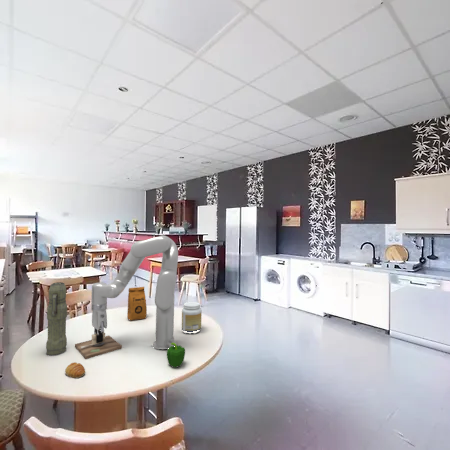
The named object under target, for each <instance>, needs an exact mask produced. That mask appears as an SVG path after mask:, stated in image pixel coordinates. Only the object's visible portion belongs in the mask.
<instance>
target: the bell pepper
mask: <svg viewBox="0 0 450 450" xmlns="http://www.w3.org/2000/svg"><path fill="white" fill-rule="evenodd" d="M171 345H174V346H175V347H174V346H171V347H170V348H169V349H167V350H166V359H167V362H168V365H169V364H170V365H169V366H171V367H172V366H173V367H172V368H178V367H177V366H179V367H181V366H182V364H183V363H184V360H185V356H186V349H185V347H183V346H182V345H177V343H176V344H175V343H171ZM180 365H181V366H180Z"/></svg>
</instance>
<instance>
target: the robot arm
mask: <svg viewBox="0 0 450 450" xmlns="http://www.w3.org/2000/svg"><path fill="white" fill-rule="evenodd" d="M157 254H162V258H161V266H160V267H161V268H160V272H159V274H158V275H157V279H156V286H155V294H154V304H155V307H156V308H155V309H156V312H155V340H154V341H153V342H152V348H153V347H154V348H153V349H154V350H157V349H168V348H170V347H171V346H174V345H171V343H175V344H176V345H177V341H176V340H175V338H174V332H175V331H174V330H175V328H174V326H175V324H174V323H175V322H174V321H175V320H174V319H175V293H176V292H175V291H176V285H177V276H178V275H177V273H178V272H177V270H178V262H179V261H178V260H179V250H178V246H177V244H176V243H175V241H174V240H173V239H172V238H170V237H169V236H167V235H158V236H155V237H151V238H149V239H146V240H139V241H135V242H133V244H132V245H131V247H130V251H129V252H128V254H127V255H126V257H125V258H124V260H123V261H122V263H121V266H120V270H119V272H118V274H117V275H116V276H115V278H114V279H113V281H112V282H111V283H109V284H107V283H106V282H95V283H93V284H92V285H91V300H90V301H91V306H90V307H91V308H90V310H91V311H92V312H91V313H92V314H91V325H92V327H93V332H94V333H93V334H97V335H96V343H99V342H103V332H104V333H105V329H108V312H107V309H108V299H116V298H118V297H119V296H120V295H121V294H122V293H123V292H124V290H125V289H126V287H127V286H128V284H129V282H130V281H131V279H132V278H133V277H134V275H135V274H136V272H137V270H138V269H139V267H140V266H141V264H142V263H143V261H144V260H145V259H146V258H147V257H151V256H154V255H157Z"/></svg>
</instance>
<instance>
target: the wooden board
mask: <svg viewBox="0 0 450 450" xmlns="http://www.w3.org/2000/svg"><path fill="white" fill-rule="evenodd" d="M90 344H92V339H91V340H89V339H88V340H86V341H82V342H79V343H74V348H75V349H76V350H77V352H79V354H80V355H81V356H82V357H83V358H84V359H85V360H88V359H91V358H95V357H98V356H102V355H105V354H108V353H111V352H116V351H119V350H121V349H123V345H122V344H120V343H119V342H118V341H117V340H116V339H114V337H112V336H110V335H105V342H104V345H102V346H99V347H94V346H93V345H92V346H88V347H85V348H81V347H83V346H86V345H90Z"/></svg>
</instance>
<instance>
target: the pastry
mask: <svg viewBox="0 0 450 450" xmlns="http://www.w3.org/2000/svg"><path fill="white" fill-rule="evenodd" d="M64 373H65V375H66V376H67V377H70V378H73V379H79V378H81V377H83V376H84V375H85V374H86V368H85V366H83V364H81V363H79V362H71V363H70V364H69V365H67V366H66V367H65V370H64Z"/></svg>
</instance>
